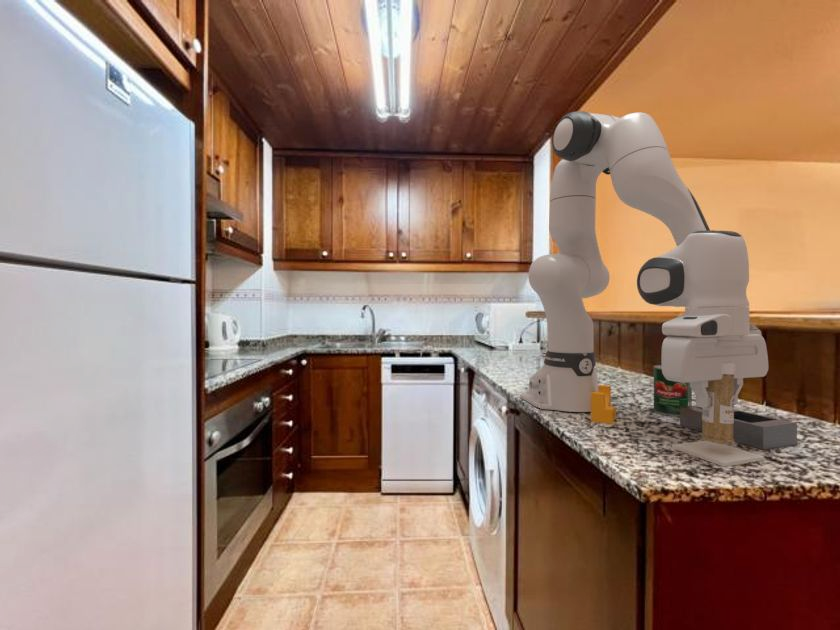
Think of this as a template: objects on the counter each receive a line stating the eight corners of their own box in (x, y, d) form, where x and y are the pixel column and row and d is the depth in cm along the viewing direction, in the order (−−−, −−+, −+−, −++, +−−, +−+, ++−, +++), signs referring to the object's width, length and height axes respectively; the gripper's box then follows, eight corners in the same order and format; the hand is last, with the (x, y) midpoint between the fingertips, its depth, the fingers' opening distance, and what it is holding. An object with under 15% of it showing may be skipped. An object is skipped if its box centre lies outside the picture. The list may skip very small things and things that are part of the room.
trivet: (672, 448, 71) (672, 444, 71) (710, 443, 74) (710, 439, 74) (723, 466, 62) (723, 462, 62) (764, 460, 65) (764, 456, 65)
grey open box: (680, 425, 85) (679, 406, 85) (710, 422, 88) (710, 403, 88) (763, 449, 70) (763, 426, 70) (796, 444, 72) (796, 422, 72)
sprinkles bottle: (736, 446, 65) (738, 363, 65) (702, 442, 67) (703, 361, 67) (731, 439, 69) (732, 361, 69) (699, 435, 71) (700, 359, 71)
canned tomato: (658, 415, 94) (658, 368, 94) (649, 407, 101) (649, 364, 101) (697, 417, 91) (697, 369, 91) (685, 409, 99) (685, 365, 99)
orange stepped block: (612, 424, 87) (612, 395, 87) (591, 422, 89) (590, 393, 89) (618, 413, 97) (618, 386, 97) (599, 410, 99) (599, 384, 99)
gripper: (740, 323, 74) (741, 397, 74) (653, 325, 68) (654, 406, 68) (779, 323, 68) (780, 404, 68) (688, 326, 62) (689, 414, 62)
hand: (716, 405), depth 68 cm, fingers closed on sprinkles bottle, 4 cm apart
